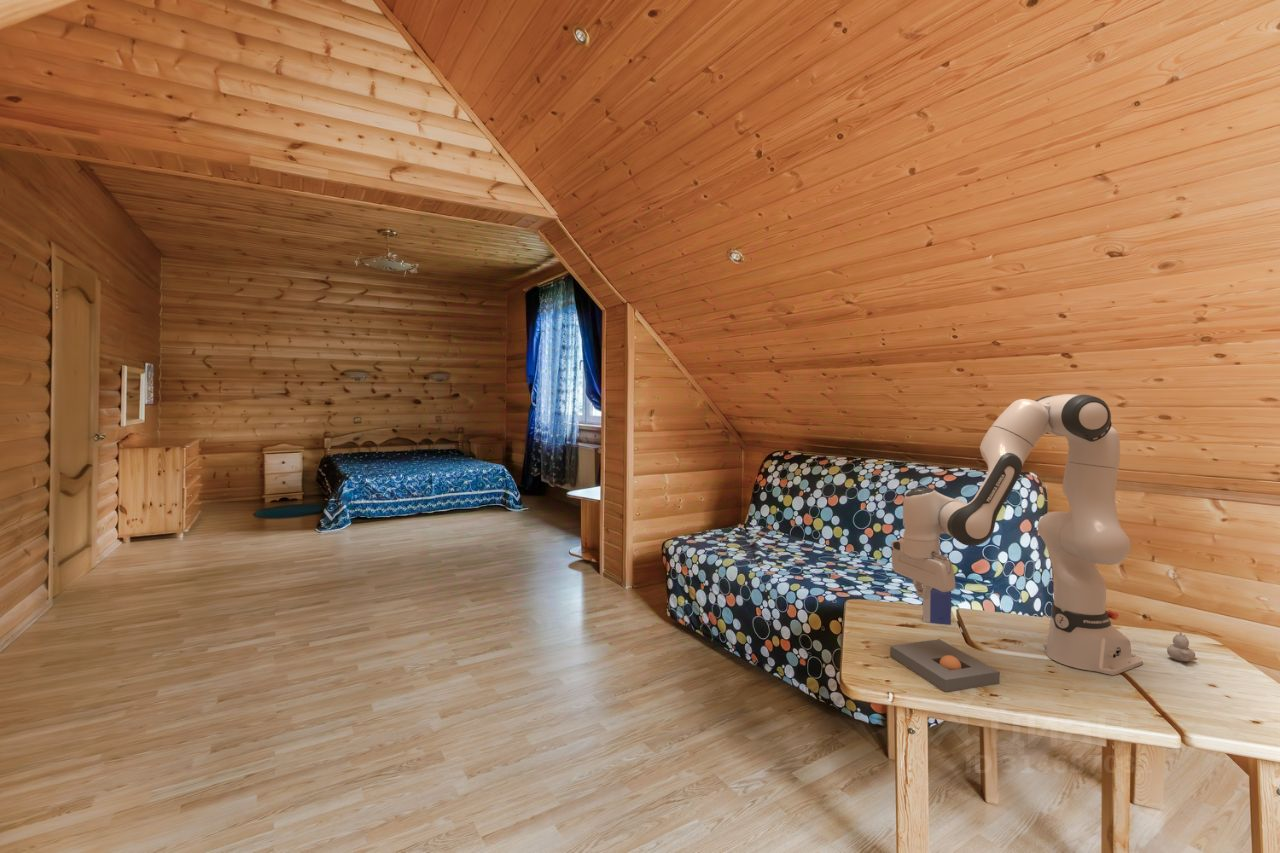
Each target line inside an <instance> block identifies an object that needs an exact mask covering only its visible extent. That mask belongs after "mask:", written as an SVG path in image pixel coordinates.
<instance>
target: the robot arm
mask: <svg viewBox="0 0 1280 853" xmlns="http://www.w3.org/2000/svg"><path fill="white" fill-rule="evenodd" d="M1046 434H1047V435H1053V436H1059V437H1065V439H1066V441H1067V444H1068V450H1067V455H1066V461H1065V469H1064V474H1063V480H1062V487H1061V488H1062V492H1063V494H1064V496H1065V497H1066V499H1067V501H1068V505H1069V509H1070V511H1065V510H1064V511H1063V510H1062V511H1060V510H1057V511H1049V512H1047V513H1044V514H1043V516H1041V517H1040V519H1039V521H1038V523H1037V532H1038V535H1039V536H1040V538H1041V540H1043V542H1044V544H1045V547H1046V550H1047V553H1048V556H1049V559H1050V563H1051V569H1052V574H1053V602H1052V603H1051V609H1050V610H1051V617H1052V618H1051V619H1050V620H1049V625H1048V634H1047V638H1046V639H1047V640H1046V641H1044V644H1043V646H1044V647H1045V651H1044V652H1045V655H1046V656H1047V657H1048V658H1050V659H1052V660H1053V661H1055V662H1057V663H1060V664H1062V665H1064V666H1068V667H1070V668H1071V667H1072V668H1075V669H1079V670H1084V671H1090V672H1097V673H1102V674H1106V675H1110V676H1116V675H1119V674H1121V673H1123V672H1126V671H1128V670H1130V669H1134V668H1137V667H1139V666H1142V665H1143V664H1144V662H1143V659H1141V657H1139V656H1138V655H1136V654H1134V653H1132V645H1131V641H1130V639H1129V638H1128V637H1127V636H1126V635H1124V634H1123V633H1122V632H1121V631H1119V630H1118V629H1117V628H1116V627H1114V626H1113V625H1112V623H1111V619H1112V620H1113V621H1117V620H1118V618H1119V616H1120V615H1119V614H1120V613H1118V612H1117V611H1112V610H1110V609H1109V610H1106V608H1107V607H1106V606H1107V605H1106V604H1107V603H1106V601H1107V584H1106V580H1105V579H1104V577H1103V576H1102V574H1101V573H1100V571H1099V569H1098V567H1097V564H1099V565H1106V566H1107V565H1108V566H1113V565H1117V564H1119V563H1122V562H1123V561H1125V560H1126V559H1127V557H1128V556H1129V554H1130V551H1131V547H1132V546H1131V541H1130V538H1129V536H1128V535H1127V533H1126V532H1125V531H1124V530H1123V528H1122V525H1121V522H1120V519H1119V516H1118V511H1117V510H1118V509H1117V504H1116V491H1117V490H1116V489H1117V483H1118V475H1119V474H1118V473H1119V468H1120V458H1121V445H1120V444H1121V443H1120V442H1121V440H1120V435H1119V434H1120V433H1119V432H1118V431H1117V429H1115V428H1114V427H1112V415H1111V411H1110V408H1109V405H1108V404H1107V403H1106V402H1105V401H1104V400H1103V399H1101V398H1100V397H1097V396H1094V395H1090V394H1077V393H1075V394H1074V393H1064V394H1058V395H1046V396H1042V397H1040V398H1038V399H1036V400H1033V399H1029V398H1020V399H1017V400H1015V401H1013V402H1012V403H1011V404H1010V405H1009V406H1007V408H1005V409H1004V410H1003V411H1002V412H1001V414H1000V415H998V417H997V418H996V419H995V421H994V422H993V423H992V425H991V426H990V427H989V429H988V430H987V432H986V433H985V435H984V436H983V437H982V441H981V442H980V445H979V451H980V455H981V457H982V459H983V460H984V462H985V464H986V465H987V475H986V476H985V478H984V480H983V482H982V484H981V486H980V487H979V488H978V490H977V492H976V494H975V496H974V498H973V499H971V501H969V502H964V501H962V500H959V499H956V498H953V497H949V496H947V495H944V494H943V493H940V492H938V491H937V490H935V489H934V488H931V487H919V488H914V489H911V490H909V491H908V492H906V493H905V495H904V498H903V504H902V522H903V525H904V531H903V539H897V540H892V541H891V544H890V545H891V548H892V551H891V565H892V566H891V567H892V570H893V572H894V573H896V574H899V575H901V576H904V577H906V578H909V579H910V580H912V584H913V587H914V589H915V590H916V592H915V593H916V594H915V595H916V597H918V598H920V599H922V600H923V599H925V600H926V599H929V593H930V591H931V589H932V588H935V589H937V590H939V591H942V592H949V591H951V592H952V591H954V590H955V589H956V577H955V576H956V575H955V571H954V566H953V565H952V561H951V560H950V558H948V556H947V555H944V554H941V551H940V550H941V548H940V547H941V546H940V545H941V544H940V543H941V542H940V536H941V535H942V534H947V535H949V537H951V538H954V539H955V540H956V541H957V542H959V543H960V544H963V545H965V546H969V547H975V546H979V545H982V544H984V543H986V542H988V540H989V539H990V538H991V537H992V535H993V534H994V531H995V526H996V522H997V518H998V515H999V513H1000V511H1001V510H1002V507H1003V506H1004V504H1005V502H1006V501H1007V499H1008V497H1009V495H1010V494H1011V492H1012V490H1013V488H1014V487H1015V485H1016V483H1017V481H1018V480H1019V478H1020V475H1021V473H1022V469H1023V466H1024V463H1025V461H1026V460H1027V458H1028V457H1029V454H1030V453H1031V451H1033V449H1034V448H1035V446H1036V445H1037V443H1038V442H1039V440H1040V439H1041V437H1043V436H1044V435H1046ZM923 587H924V589H923Z"/></svg>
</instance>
